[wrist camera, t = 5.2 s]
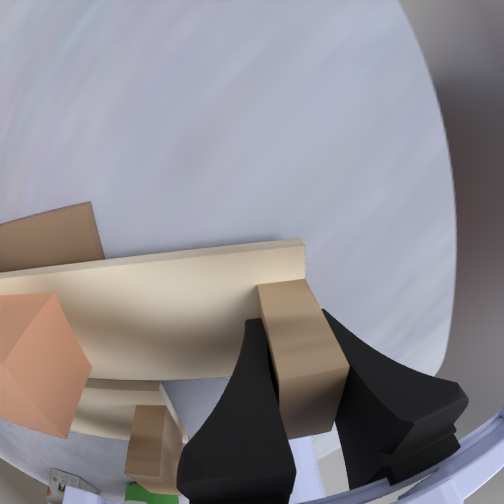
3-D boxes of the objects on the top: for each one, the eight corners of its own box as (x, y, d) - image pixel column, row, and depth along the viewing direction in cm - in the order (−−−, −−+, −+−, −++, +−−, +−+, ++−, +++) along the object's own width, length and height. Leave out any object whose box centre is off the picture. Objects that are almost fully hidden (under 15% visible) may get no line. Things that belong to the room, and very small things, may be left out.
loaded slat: (297, 356, 14) (325, 446, 9) (14, 360, 13) (-16, 416, 8) (300, 238, 12) (358, 325, 6) (-29, 276, 10) (-79, 327, 5)
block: (92, 367, 13) (66, 439, 8) (33, 361, 12) (4, 419, 8) (54, 292, 10) (3, 364, 6) (-3, 295, 10) (-49, 350, 6)
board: (178, 428, 18) (177, 434, 18) (1, 400, 17) (-1, 403, 16) (90, 201, 11) (85, 204, 10) (-79, 253, 9) (-83, 256, 9)
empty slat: (188, 434, 17) (187, 500, 12) (11, 408, 16) (-6, 448, 11) (160, 380, 14) (148, 467, 9) (-27, 358, 13) (-52, 400, 8)
